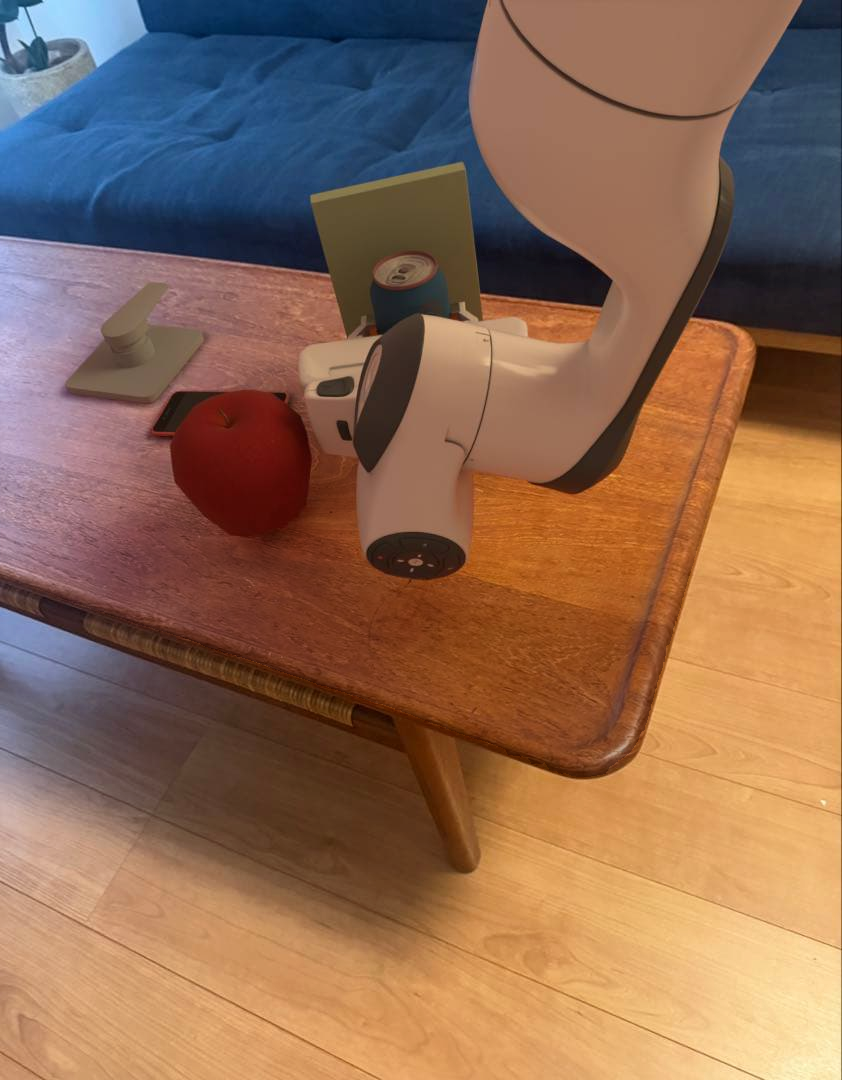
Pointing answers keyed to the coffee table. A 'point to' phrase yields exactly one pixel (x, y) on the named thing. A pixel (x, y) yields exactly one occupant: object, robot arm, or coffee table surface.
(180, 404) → the smartphone
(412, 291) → the soda can
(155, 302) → the shower valve
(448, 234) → the olive green plank
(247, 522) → the apple
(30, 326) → the coffee table surface
